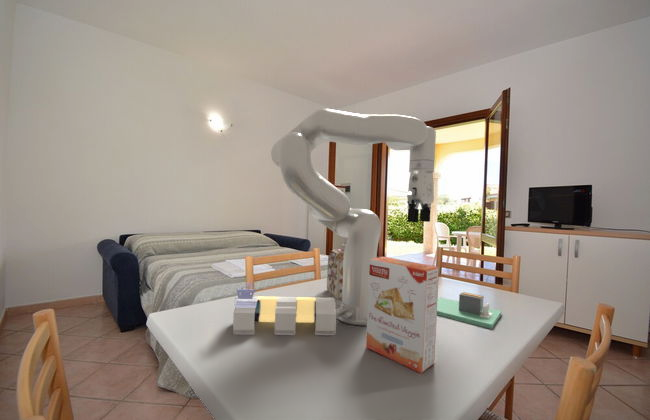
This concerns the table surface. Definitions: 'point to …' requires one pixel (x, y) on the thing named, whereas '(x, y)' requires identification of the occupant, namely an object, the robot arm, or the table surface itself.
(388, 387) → the table surface
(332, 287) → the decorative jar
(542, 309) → the table surface
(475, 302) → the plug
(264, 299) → the white and yellow block
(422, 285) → the cracker box
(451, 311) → the board
